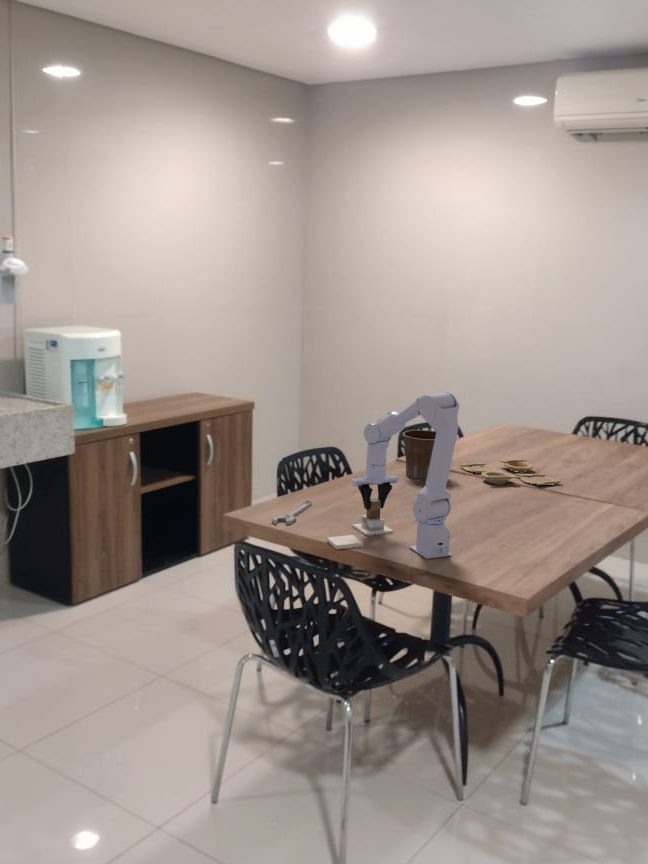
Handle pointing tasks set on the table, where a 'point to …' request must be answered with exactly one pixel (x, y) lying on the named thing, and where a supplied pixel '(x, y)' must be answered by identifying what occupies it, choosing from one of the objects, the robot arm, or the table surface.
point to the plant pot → (418, 452)
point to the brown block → (373, 516)
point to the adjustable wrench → (292, 513)
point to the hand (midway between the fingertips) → (373, 508)
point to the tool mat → (368, 532)
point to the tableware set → (502, 478)
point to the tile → (344, 542)
